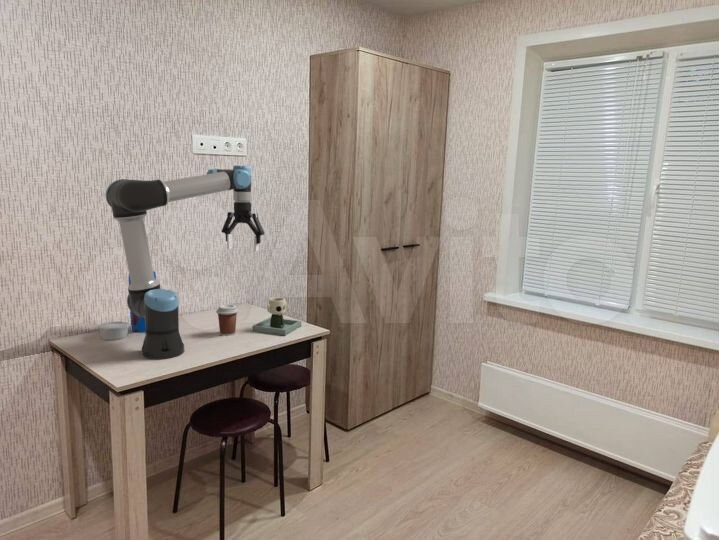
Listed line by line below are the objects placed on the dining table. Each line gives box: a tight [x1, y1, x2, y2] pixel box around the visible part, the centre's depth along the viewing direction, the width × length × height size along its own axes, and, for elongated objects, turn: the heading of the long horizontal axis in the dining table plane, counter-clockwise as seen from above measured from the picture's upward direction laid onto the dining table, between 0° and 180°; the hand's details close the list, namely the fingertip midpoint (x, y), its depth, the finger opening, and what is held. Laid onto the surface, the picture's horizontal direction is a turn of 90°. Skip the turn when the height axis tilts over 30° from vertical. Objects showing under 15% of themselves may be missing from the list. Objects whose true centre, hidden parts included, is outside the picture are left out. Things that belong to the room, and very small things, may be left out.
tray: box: [251, 316, 302, 337], centre depth 230 cm, size 16×16×2 cm
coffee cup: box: [215, 304, 239, 337], centre depth 220 cm, size 9×9×12 cm
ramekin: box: [98, 321, 130, 341], centre depth 212 cm, size 11×11×5 cm
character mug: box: [266, 297, 288, 328], centre depth 229 cm, size 11×7×13 cm, turn 140°
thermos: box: [128, 270, 157, 333], centre depth 222 cm, size 11×11×25 cm
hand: (243, 250), depth 227 cm, fingers open, 13 cm apart
